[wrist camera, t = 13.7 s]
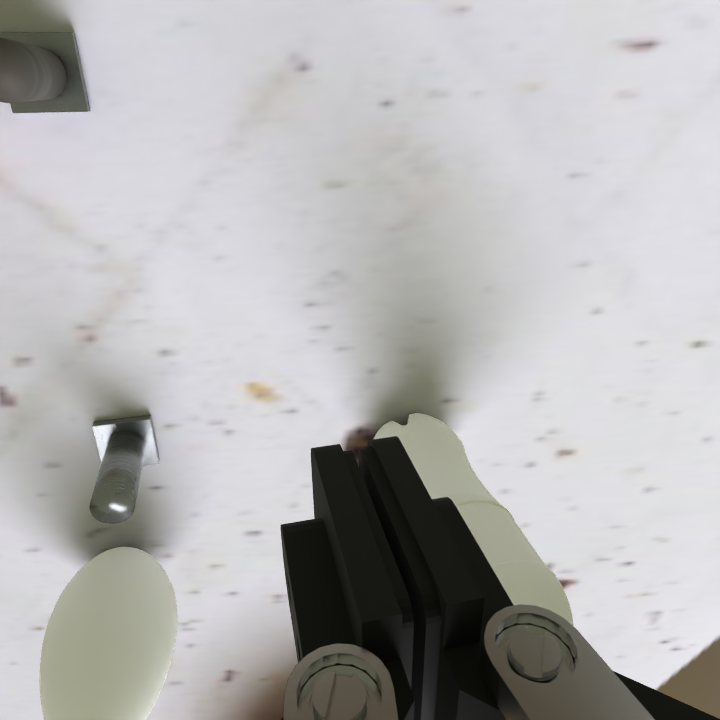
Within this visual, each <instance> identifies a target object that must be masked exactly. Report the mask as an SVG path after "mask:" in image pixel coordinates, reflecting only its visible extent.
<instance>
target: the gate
mask: <svg viewBox="0 0 720 720" xmlns="http://www.w3.org/2000/svg"><path fill="white" fill-rule="evenodd" d="M66 80H67V78H66V71H65V68H64V66H63V64H62V62H61V61H60V59H59V58H58V57H57V56H56V55H55V54H54V53H52V52H51V51H50V50H48V49H46V48H43V47H40V46H36V45H31V44H27V43H22V42H18V41H14V40H9V39H5V38H1V37H0V102H5V103H14V102H26V101H37V100H48V99H53V98H55V97H57V96H59V95H60V94H61V93H62V92H63V90H64V88H65V86H66Z"/></svg>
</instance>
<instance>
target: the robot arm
mask: <svg viewBox="0 0 720 720" xmlns="http://www.w3.org/2000/svg"><path fill="white" fill-rule="evenodd" d="M311 466H312V483H313V500H314V517H315V519H312V520H306V521H300V522H294V523H288V524H282V525H281V537H282V548H283V559H284V568H285V576H286V584H287V592H288V599H289V606H290V612H291V619H292V625H293V632H294V638H295V645H296V652H297V658H298V664H297V665H296V666H295V668H294V669H293V671H292V673H291V675H290V677H289V678H288V680H287V685H286V690H285V695H284V717H283V718H282V720H720V719H718V718H716V717H714V716H712V715H709V714H707V713H705V712H703V711H700V710H698V709H696V708H694V707H692V706H689V705H687V704H685V703H683V702H680V701H678V700H676V699H674V698H672V697H669V696H667V695H665V694H663V693H660V692H658V691H656V690H654V689H652V688H650V687H647V686H645V685H643V684H641V683H638V682H636V681H634V680H632V679H630V678H627V677H625V676H623V675H621V674H619V673H616V672H614V671H612V670H611V669H610V667H609V666H608V665H607V664H606V663H605V662H604V660H603V659H602V658H601V657H600V656H599V655H598V654H597V652H596V651H595V650H594V649H593V648H592V647H591V645H590V644H589V643H588V642H587V641H586V640H585V639H584V637H583V636H582V635H581V634H580V633H579V632H578V630H577V629H576V628H575V627H573V626H572V625H571V624H570V623H569V622H568V621H567V620H566V619H565V618H563V617H561V616H560V615H558V614H556V613H554V612H552V611H551V610H548V609H545V608H542V607H538V606H535V605H522V604H519V605H513V603H512V601H511V600H510V598H509V596H508V595H507V593H506V591H505V589H504V588H503V586H502V584H501V583H500V581H499V579H498V577H497V576H496V574H495V572H494V571H493V569H492V567H491V565H490V564H489V562H488V560H487V559H486V557H485V555H484V553H483V552H482V550H481V548H480V547H479V545H478V543H477V542H476V540H475V538H474V536H473V535H472V533H471V531H470V530H469V528H468V526H467V524H466V523H465V521H464V519H463V518H462V516H461V514H460V512H459V511H458V509H457V507H456V506H455V504H454V503H453V501H452V500H451V499H450V498H448V497H443V498H437V499H431V497H430V495H429V493H428V491H427V489H426V487H425V486H424V484H423V482H422V480H421V478H420V476H419V474H418V472H417V471H416V469H415V467H414V465H413V463H412V461H411V459H410V458H409V456H408V454H407V452H406V450H405V448H404V446H403V445H402V443H401V441H400V439H399V438H398V437H397V436H393V437H386V438H379V439H372V440H369V441H368V448H362V449H359V467H358V464H357V461H356V459H355V456H354V454H353V452H352V450H349V451H343V450H342V448H341V445H340V444H337V445H330V446H323V447H316V448H311Z"/></svg>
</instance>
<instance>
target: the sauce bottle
mask: <svg viewBox="0 0 720 720" xmlns="http://www.w3.org/2000/svg"><path fill="white" fill-rule="evenodd" d="M176 635H177V605H176V597H175V593H174V589H173V586H172V584H171V582H170V579H169V577H168V575H167V573H166V571H165V570H164V569H163V567H162V566H161V565H160V564H159V562H158V561H157V560H156V559H155V558H154V557H153V556H152V555H150V554H148V553H147V552H145V551H142V550H140V549H137V548H132V547H118V548H113V549H110V550H107V551H105V552H103V553H101V554H99V555H98V556H96V557H94V558H93V559H92V560H90V561H89V562H88V563H87V564H86V565H85V566H84V567H82V568H81V569H80V570H79V571H78V572H77V573H76V574H75V576H74V577H73V578H72V579H71V581H70V582H69V583H68V585H67V586H66V587H65V589H64V590H63V592H62V593H61V595H60V597H59V599H58V601H57V603H56V605H55V607H54V610H53V612H52V614H51V617H50V619H49V622H48V625H47V628H46V632H45V636H44V640H43V646H42V653H41V662H40V679H39V681H40V697H41V705H42V711H43V716H44V720H146V719H147V718H148V716H149V714H150V712H151V710H152V709H153V707H154V705H155V703H156V701H157V698H158V696H159V694H160V692H161V689H162V687H163V685H164V682H165V679H166V677H167V674H168V671H169V667H170V664H171V660H172V656H173V651H174V647H175V641H176Z"/></svg>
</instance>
